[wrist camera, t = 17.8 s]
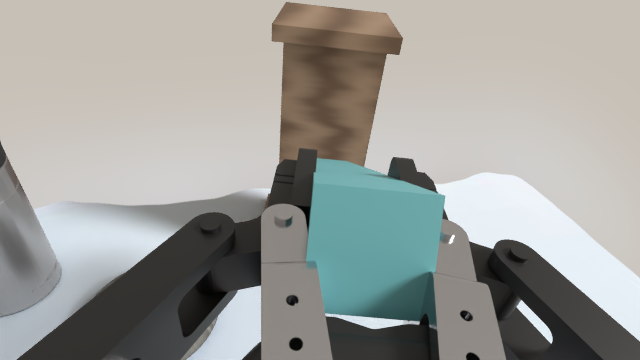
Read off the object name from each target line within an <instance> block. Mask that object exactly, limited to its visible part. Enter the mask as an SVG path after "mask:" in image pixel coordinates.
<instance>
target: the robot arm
mask: <svg viewBox="0 0 640 360" xmlns="http://www.w3.org/2000/svg"><path fill="white" fill-rule="evenodd" d="M317 151H318V150H317V149H307V148H299V152H298V158H297V160H290V159H284V160H283V161H282V162H281V163H280V164H279V165H278V166H277V169H276V173H275V177H274V182H273V185H272V189H271V193H270V197H269V201H268V205H267V208H266V209H265V210H264V212H263V213H262V215H261V216H259V217H258V218H256V219H253V220H250V221H246V222H240V223H234V221H233V220H232V219H231V218H230V217H229V216H227V215H225V214H222V213H216V212H213V213H205V214H202V215H199V216H197V217H195V218H194V219H192V220H191V221H190V222H189V223H187V224H186V225H185V226H184V227H182V228H181V229H180V230H179V231H177V232H176V233H175V234H174V235H172V236H171V237H170V238H168V239H167V240H166V241H165V242H163V243H162V244H161V245H160V246H158V247H157V248H156V249H155V250H153V251H152V252H151V253H150V254H148V255H147V256H146V257H145V258H143V259H142V260H141V261H140V262H138V263H137V264H136V265H135V266H133V267H132V268H131V269H130V270H128V271H127V272H126V273H125V274H123V275H122V276H121V277H120V278H118V279H117V280H116V281H115V282H113V283H112V284H111V285H110V286H108V287H107V288H106V289H105V290H103V291H102V292H101V293H99V294H98V295H97V296H96V297H94V298H93V299H92V300H91V301H89V302H88V303H87V304H86V305H84V306H83V307H82V308H81V309H79V310H78V311H77V312H76V313H74V314H73V315H72V316H71V317H69V318H68V319H67V320H66V321H64V322H63V323H62V324H61V325H59V326H58V327H57V328H56V329H54V330H53V331H52V332H51V333H49V334H48V335H47V336H46V337H44V338H43V339H42V340H41V341H39V342H38V343H37V344H36V345H34V346H33V347H32V348H31V349H29V350H28V351H27V352H25V353H24V354H23V355H22V356H20V357H19V358H18V359H17V360H181V359H182V357H183V356H184V355H185V354H186V353H187V351H188V350H189V349H190V348H191V347H192V346H193V344H194V343H195V342H196V341H197V340H198V338H199V337H200V336H201V335H202V334H203V333H204V331H205V330H206V329H207V328H208V327H209V326H210V324H211V323H212V322H213V321H214V320H215V318H216V317H217V316H218V315H219V314H220V313H221V311H222V310H223V309H224V308H225V307H226V305H227V304H228V303H229V302H230V301H231V300H232V298H233V297H234V296H235V295H236V293H237V291H238V290H240V289H245V288H250V287H255V286H260V285H261V342H260V343H258V344H257V345H256V346H255V347H254V348H253V349H252V350H251V351H250V352H249V353H248V354H247V355H246V356H245V357H244V358H243V359H242V360H640V341H638V340H637V339H636V338H635V337H634V336H633V335H631V334H630V333H629V332H628V331H627V330H626V329H625V328H623V327H622V326H621V325H620V324H619V323H618V322H616V321H615V320H614V319H613V318H612V317H611V316H609V315H608V314H607V313H606V312H605V311H604V310H603V309H601V308H600V307H599V306H598V305H597V304H596V303H594V302H593V301H592V300H591V299H590V298H589V297H587V296H586V295H585V294H584V293H583V292H582V291H581V290H579V289H578V288H577V287H576V286H575V285H574V284H572V283H571V282H570V281H569V280H568V279H567V278H565V277H564V276H563V275H562V274H561V273H560V272H559V271H557V270H556V269H555V268H554V267H553V266H552V265H550V264H549V263H548V262H547V261H546V260H545V259H543V258H542V257H541V256H540V255H539V254H538V253H537V252H535V251H534V250H533V249H532V248H530V247H529V246H527V245H525V244H523V243H521V242H518V241H514V240H501V241H498V242H497V243H496V244H495V246H494V248H493V249H491V248H488V247H484V246H481V245H478V244H475V243H472V242H470V241H469V239H468V236H467V234H466V232H465V231H464V230H463V229H462V228H461V227H460V226H459V225H457V224H455V223H453V222H451V221H449V220H448V218H447V215H446V213H445V210H444V209H443V217H442V224H441V232H440V240H439V247H438V255H437V263H436V270H435V272H432V271H430V273H429V278H428V282H427V287H426V291H425V296H424V300H423V305H422V310H421V314H420V319H419V321H408V320H404V322H403V325H399V326H393V327H387V328H381V329H370V328H367V327H364V326H361V325H358V324H355V323H352V322H349V321H346V320H343V319H339V318H336V317H327V316H325V310H324V304H323V298H322V292H321V286H320V280H319V274H318V268H317V264H316V261H306V254H307V243H308V228H309V219H310V209H311V198H312V187H313V176H314V172H316V164H317ZM388 176H389V177H392V178H395V179H398V180H401V181H405V182H408V183H410V184H413V185H416V186H419V187H422V188H424V189H427V190H430V191H433V192H436V193H438V192H437V191H436V187H435V185H434V182H433V181H432V180H431V179H430V178H429V177H428V176H427V175H426V174H425V173H421V172H417V170H416V167H415V164H414V161H413V160H412V159H408V158H397V157H393V159H392V161H391V164H390V168H389V172H388ZM60 276H61V267H60V264H59V262H58V260H57V258H56V256H55V254H54V252H53V250H52V248H51V245H50V243H49V241H48V239H47V237H46V235H45V233H44V231H43V229H42V227H41V225H40V223H39V221H38V219H37V217H36V215H35V213H34V211H33V209H32V206H31V205H30V203H29V200H28V198H27V197H26V194H25V192H24V190H23V188H22V186H21V184H20V182H19V180H18V178H17V176H16V174H15V172H14V170H13V168H12V166H11V164H10V162H9V160H8V158H7V156H6V153H5V151H4V149H3V147H2V145H1V142H0V317H1V316H5V315H10V314H13V313H16V312H19V311H22V310H24V309H26V308H28V307H30V306H32V305H34V304H35V303H37V302H38V301H40V300H42V299H43V298H44V297H45V296H46V295H48V294H49V293H50V292H51V291H52V290H53V289H54V287H55V286H56V284H57V283H58V281H59V279H60ZM521 300H522V301H523V302H524V303H525V304H526V305H527V306H528V307H529V308H530V309H531V310H532V311H533V312H534V313H535V314H536V315H537V316H538V317H539V318H540V319H541V320H542V321H543V322H544V323H545V324H546V325H547V326H548V328H549V329H550V331H551V333H552V337H553V342H552V344H550V342H549V341H548V340H547V339H546V338H545V337H544V336H543V335H542V334H541V333H540V332H539V331H538V330H537V329H536V328H535V327H534V326H533V324H532V323H531V322H530V321H529V320H528V319H527V318H526V317H525V316H524V315H523V314H522V313H521V312H520V311H519V310H518V309H517V308H516V307H517V305H518V304H519V302H520V301H521Z"/></svg>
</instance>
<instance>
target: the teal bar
mask: <svg viewBox="0 0 640 360" xmlns="http://www.w3.org/2000/svg"><path fill="white" fill-rule="evenodd" d="M444 202H445V196H444V195H441V194H439V193H436V192H433V191H430V190H427V189H424V188H422V187H419V186H416V185H413V184H410V183H408V182H405V181H401V180H398V179H395V178H392V177H389V176H388V175H385V174H382V173H379V172H376V171H374V170H371V169H368V168H365V167H362V166H359V165H357V164H354V163H351V162H348V161H341V160H331V159H321V158H317V164H316V172H314V176H313V187H312V198H311V209H310V219H309V228H308V243H307V254H306V261H316V264H317V268H318V274H319V280H320V286H321V292H322V298H323V304H324V310H325V313H329V314H340V315H352V316H363V317H374V318H385V319H397V320H408V321H419V319H420V314H421V310H422V305H423V300H424V296H425V291H426V287H427V282H428V278H429V273H430V271H432V272H435V270H436V263H437V255H438V247H439V240H440V232H441V224H442V217H443V209H444Z"/></svg>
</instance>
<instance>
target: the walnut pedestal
mask: <svg viewBox="0 0 640 360" xmlns="http://www.w3.org/2000/svg"><path fill="white" fill-rule="evenodd" d="M402 40H403V38H402V36H401V35H400V33H399V32H398V30H397V29H396V27H395V26H394V24H393V22H392V21H391V20H390V18H389V16H388V15H387V14H386V13H378V12H370V11H361V10H352V9H343V8H334V7H325V6H316V5H307V4H299V3H289V2H286V3H285V5H284V6H283V8H282V9H281V11H280V13H279V14H278V16H277V17H276V19H275V20H274V22H273V23H272V41H275V42H284V48H283V76H282V77H283V78H282V103H281V104H282V105H281V130H280V131H281V132H280V133H281V134H280V158H279V159H280V161H279V164H280V163H281V162H282V161H283V160H284V159H290V160H297V158H298V152H299V148H307V149H317V150H318V151H317V158H321V159H331V160H341V161H348V162H351V163H354V164H357V165H359V166H362V167H364V164H365V159H366V154H367V149H368V143H369V139H370V134H371V129H372V124H373V119H374V114H375V109H376V104H377V99H378V94H379V90H380V84H381V80H382V75H383V70H384V65H385V59H386V55H387V54H395V55H399V53H400V49H401V44H402ZM269 197H270V194H268V198H267V202H266V206H265V209H266V208H267V205H268V201H269Z"/></svg>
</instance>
